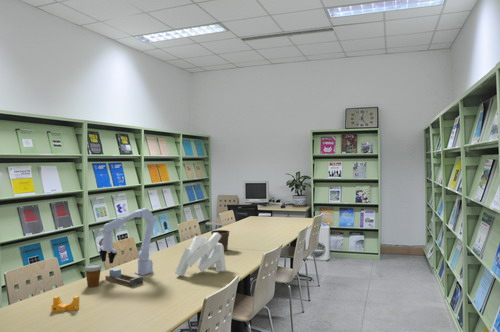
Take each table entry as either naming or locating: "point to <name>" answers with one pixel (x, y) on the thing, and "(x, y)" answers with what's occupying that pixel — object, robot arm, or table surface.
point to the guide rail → (131, 283)
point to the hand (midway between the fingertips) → (107, 262)
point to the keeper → (115, 273)
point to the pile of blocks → (203, 254)
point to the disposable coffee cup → (93, 274)
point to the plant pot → (223, 237)
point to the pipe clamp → (60, 306)
